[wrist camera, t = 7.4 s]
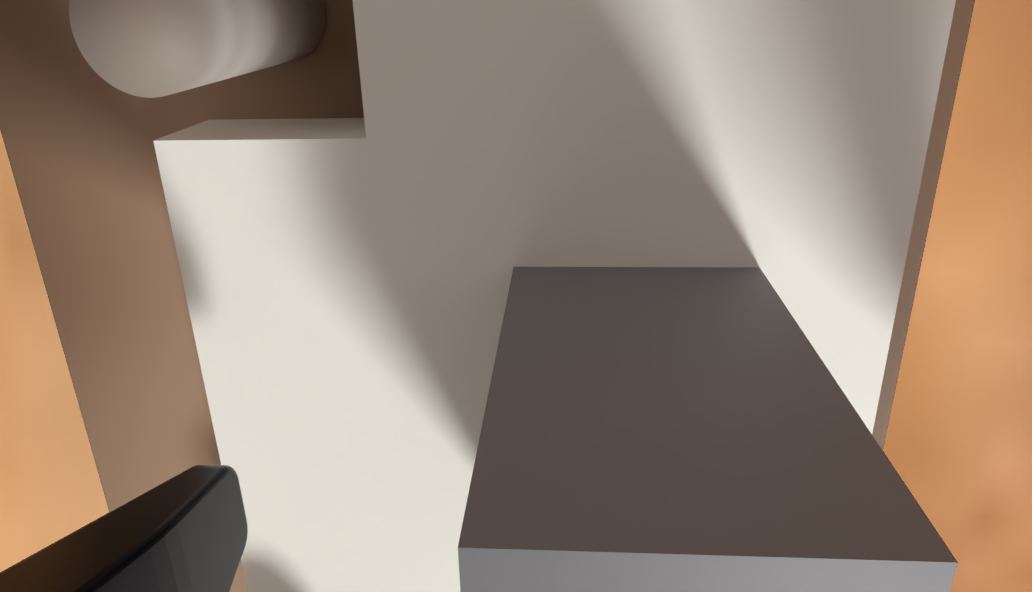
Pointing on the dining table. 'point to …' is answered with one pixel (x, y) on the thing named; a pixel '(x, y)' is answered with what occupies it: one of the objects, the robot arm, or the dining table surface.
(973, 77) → the dining table surface
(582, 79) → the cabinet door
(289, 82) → the peg board
